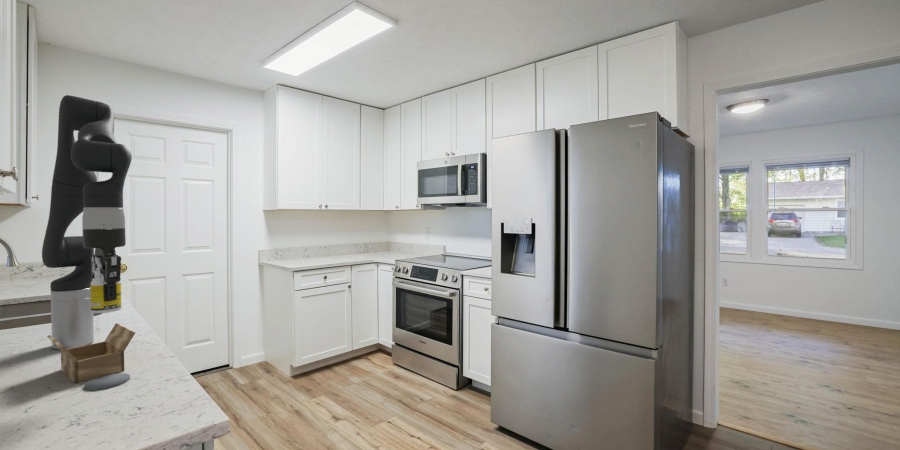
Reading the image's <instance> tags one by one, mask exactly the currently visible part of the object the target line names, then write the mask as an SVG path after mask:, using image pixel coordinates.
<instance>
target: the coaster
mask: <svg viewBox="0 0 900 450" xmlns="http://www.w3.org/2000/svg"><path fill="white" fill-rule="evenodd" d="M130 375H131V374H129V373H125V372H123V373H122V372H121V373H120V372H118V373H113V374H109V375H106V376H102V377H98V378H94V379H90V380H89V381H88V380H87V382H86V383H84V389H85V390H88V391H100V390H107V389H110V388H114V387H118V386H120V385H124V384H125V383H127V382H128V381H130V380H131V378H130V377H131V376H130Z"/></svg>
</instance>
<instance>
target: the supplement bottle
mask: <svg viewBox="0 0 900 450" xmlns="http://www.w3.org/2000/svg"><path fill="white" fill-rule="evenodd" d="M95 277H96V279H95V280H94V279H93V281H92V282H91V312H92V313H93V314H107V313H114V312H118V311H120V310H122V281H121V279H120V281H118V283H116V289H117V298H116V300H111V301H105V300H104V296H103V283H102V281H103V280H102V276H100V275H99V273H98V270H95ZM109 277H113V275H109Z"/></svg>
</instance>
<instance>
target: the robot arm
mask: <svg viewBox="0 0 900 450" xmlns="http://www.w3.org/2000/svg"><path fill="white" fill-rule="evenodd" d="M75 131H78V132H77V140H75V139H76V138H75V136H74V132H75ZM114 132H115V115H114V110H113V109H112V106H110V105H108V104H107V103H104V102H102V101H97V100H92V99H88V98H85V97H80V96H76V95H75V96H74V95H68V94H66V95H64V96H62V98H61V100H60V103H59V107H58V127H57V149H56V156H55V162H54V170H53V175H52V181H51V182H52V183H51V189H50V190H51V191H50V204H49V205H50V206H49V214H48V221H47V225H46V230H45V233H44V239H43V243H42V248H41V260H42V263H43V265H44V266H45V267H47V268H49V269H57V268H71V267H75V268H74V270H73V271H72V272H70V273H68V274H67V275H64V276H62V277H60V278H57V279H54V280H52V281H51V282H50V314H51V316H50V317H51V321H50V322H51V336H52V337H53V338H54V339H55V340H57V341H58V342H59V343H60V344H61V345H63V346H64V347H65V348H66V349H70V348H75V347H79V346H84V345H89V344H93V342H94V341H95V339H94V337H95V335H94V329H95V328H94V327H95V326H94V313H92V312H91V282H92V281H93V280H95V279H96V277H95V270H98V273H99V275H100V276H102V280H103V281H102V283H103V296H104V300H105V301H111V300H116V298H117V289H116V283H118V281H120V280H121V270H122V269H121V266H122V263H121V262H122V257H121V256H120V255H118V254H116V253H117V252H116V248H122V247H125V246H126V218H125V211H124V185H125V180H126V178H127V176H128V172H129V169H130V167H131V163H132V158H133V157H132V152H131V150H130V149H129V148H128V147H127V146H126V145H125V144H122V143H117V141H116V138H115V135H114V134H115V133H114ZM96 172H97V173H111V174H112V175H111V177H110V178H108V179H106V180H102V181H98V178H97V174H96ZM81 214H82V218H81V219H82V220H81V222H82V225H81V226H82V235H77V236H74V235H73V236H65V235H66V232H67V229H68V228H69V226H70V225H71V224H72V223H73V222H74V220H75V219H76V218H78V216H79V215H81ZM109 275H113V277H109ZM51 349H54V350H60V349H59V348H58V347H57V346H56V345H55V344H54V343H53V342H52V341H51Z"/></svg>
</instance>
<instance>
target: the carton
mask: <svg viewBox="0 0 900 450" xmlns="http://www.w3.org/2000/svg"><path fill="white" fill-rule="evenodd" d="M135 334H136V332H135V331H134V330H131V329H129V328H127V327H126V326H124V325H121V324H120V323H118V322H115V323H114V326H113V327H112V329H111V330H110V332H109V333H108V335H107V336H106V338H105V340H104V341H101V342H95V343H90V344H87V345H84V346H79V347H75V348H69V349H66V348H65V347H64V346H63V345H61V344H60V343H59V342H58V341H57V340H55V339H54V338H53V337H52V334H49V335H47V336H46V337H47V339H49V340H50V342H51V343H52V342H53V343H54V344H55V345H56V346H57V347H58V348H59V349H58V350H59V351H60V360H61V361H60V364H61V367H60V368H61V371H62V372H63V373H64V374H65V375H66V376H67V377H68V378H69V379H70V380H71V381H73V383H74V384H77V383H82V382H85V381H88V380H89V381H90V380H93V379H95V378H98V377H102V376H106V375H111V374H118V373H120V372H121V373H122V372H124V371H125V351H126V349H127V347H128V346H129V344H130V343H131V341H132V339H133V338H134V336H135Z"/></svg>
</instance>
